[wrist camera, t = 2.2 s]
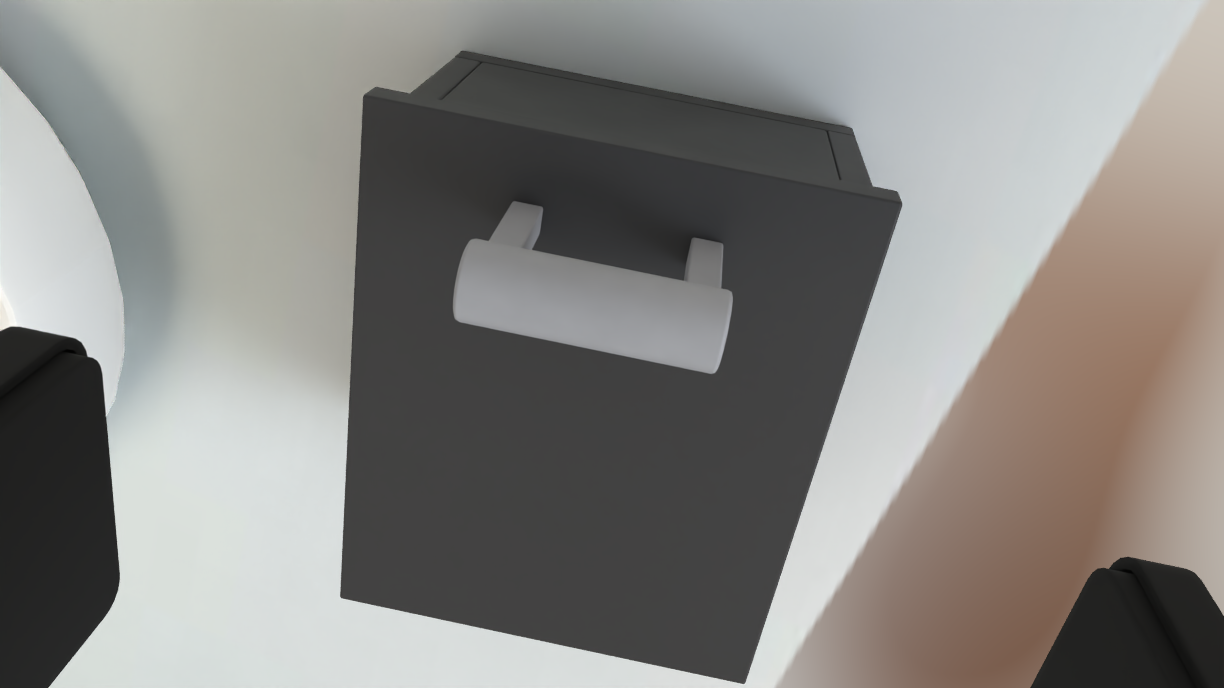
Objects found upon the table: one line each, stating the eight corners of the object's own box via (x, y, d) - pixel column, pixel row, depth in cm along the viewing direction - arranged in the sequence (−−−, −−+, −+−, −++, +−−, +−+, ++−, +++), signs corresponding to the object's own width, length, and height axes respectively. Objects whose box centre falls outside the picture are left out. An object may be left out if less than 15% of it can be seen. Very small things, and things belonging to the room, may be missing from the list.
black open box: (461, 50, 29) (373, 120, 22) (852, 128, 29) (887, 223, 22) (426, 432, 35) (350, 578, 28) (744, 498, 35) (745, 662, 28)
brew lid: (374, 85, 22) (275, 156, 17) (898, 190, 21) (941, 290, 17) (349, 579, 28) (273, 724, 24) (744, 664, 28) (745, 826, 24)
